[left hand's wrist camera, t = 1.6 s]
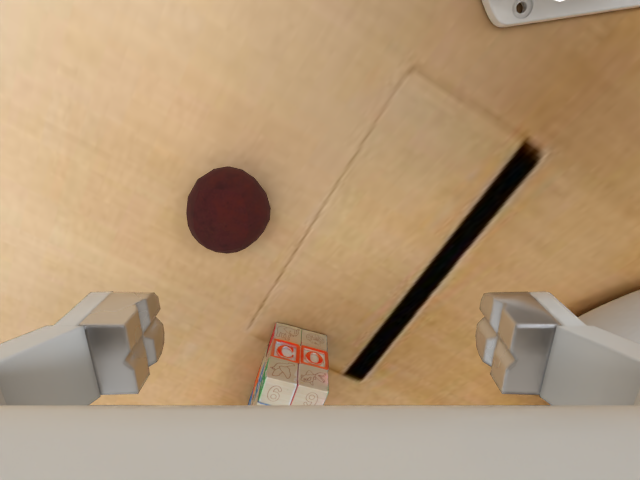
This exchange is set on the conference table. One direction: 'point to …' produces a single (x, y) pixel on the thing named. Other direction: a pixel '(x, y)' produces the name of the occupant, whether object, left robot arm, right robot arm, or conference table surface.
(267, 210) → the plum
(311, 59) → the conference table surface
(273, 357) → the stack of blocks
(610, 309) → the white rounded slotted shell
